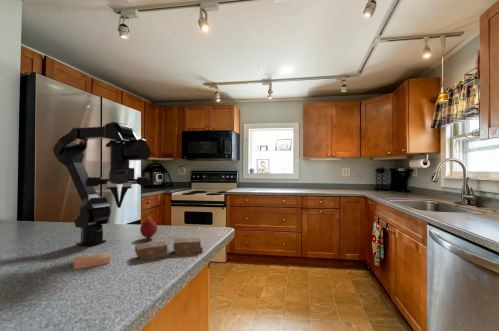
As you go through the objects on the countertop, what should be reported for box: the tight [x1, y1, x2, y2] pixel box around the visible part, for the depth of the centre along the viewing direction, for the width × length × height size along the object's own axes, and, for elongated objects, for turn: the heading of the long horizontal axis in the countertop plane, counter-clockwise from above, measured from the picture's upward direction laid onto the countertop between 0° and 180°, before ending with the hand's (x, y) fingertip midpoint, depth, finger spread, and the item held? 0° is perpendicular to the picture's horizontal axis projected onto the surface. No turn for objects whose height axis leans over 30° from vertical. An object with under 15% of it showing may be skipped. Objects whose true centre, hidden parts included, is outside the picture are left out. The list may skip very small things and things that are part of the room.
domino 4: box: [173, 245, 204, 256], centre depth 80 cm, size 2×5×8 cm
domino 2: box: [139, 247, 171, 262], centre depth 76 cm, size 2×5×8 cm
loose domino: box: [73, 252, 111, 270], centre depth 70 cm, size 2×5×8 cm
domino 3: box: [173, 237, 202, 250], centre depth 80 cm, size 2×5×8 cm
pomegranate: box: [139, 216, 158, 240], centre depth 95 cm, size 6×6×8 cm
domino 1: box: [134, 240, 168, 257], centre depth 75 cm, size 2×5×8 cm
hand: (119, 207), depth 85 cm, fingers closed
